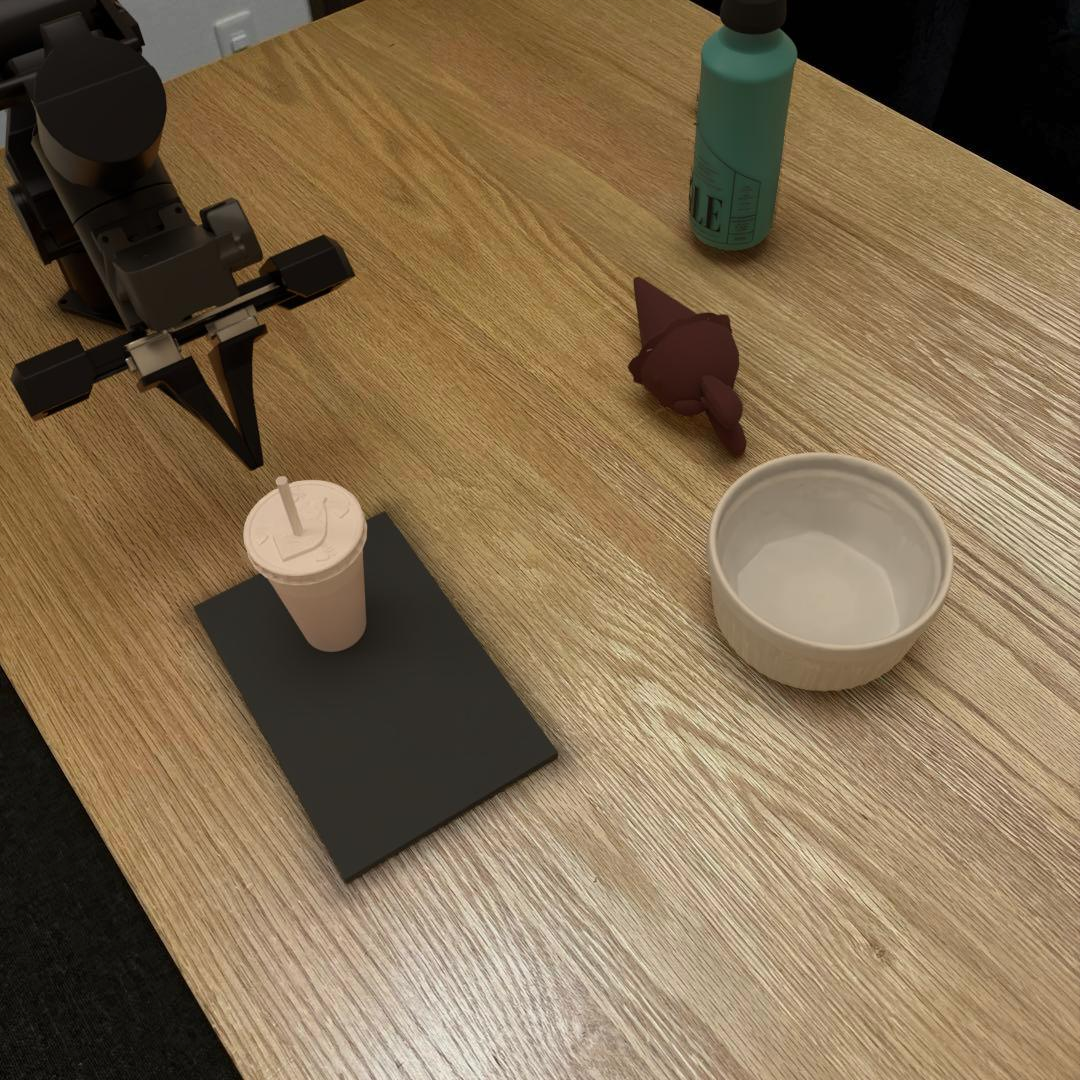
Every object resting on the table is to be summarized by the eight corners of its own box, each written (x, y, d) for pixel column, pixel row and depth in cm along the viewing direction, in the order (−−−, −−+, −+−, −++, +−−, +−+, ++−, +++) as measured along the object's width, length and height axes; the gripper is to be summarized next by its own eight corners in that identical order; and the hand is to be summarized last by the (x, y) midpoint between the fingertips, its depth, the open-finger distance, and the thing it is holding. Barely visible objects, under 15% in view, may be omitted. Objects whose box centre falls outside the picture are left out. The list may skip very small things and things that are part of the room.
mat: (195, 611, 71) (192, 606, 71) (386, 516, 75) (385, 510, 75) (346, 884, 61) (344, 880, 61) (558, 757, 65) (558, 752, 64)
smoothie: (261, 654, 69) (197, 505, 58) (309, 568, 72) (258, 411, 61) (362, 685, 67) (316, 538, 56) (406, 595, 71) (372, 440, 60)
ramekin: (927, 729, 65) (959, 665, 60) (687, 696, 67) (696, 630, 61) (924, 537, 73) (952, 464, 67) (708, 511, 75) (718, 438, 69)
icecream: (577, 271, 79) (677, 439, 72) (677, 220, 79) (787, 384, 71) (597, 331, 85) (691, 492, 78) (690, 285, 85) (793, 441, 78)
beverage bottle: (786, 229, 90) (828, -28, 74) (746, 280, 87) (782, 23, 71) (709, 202, 93) (734, -54, 76) (668, 251, 89) (685, -5, 73)
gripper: (-65, 245, 54) (102, 552, 57) (306, 103, 59) (439, 389, 62) (-41, 282, 64) (99, 540, 67) (273, 159, 70) (389, 402, 73)
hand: (257, 468), depth 67 cm, fingers closed
